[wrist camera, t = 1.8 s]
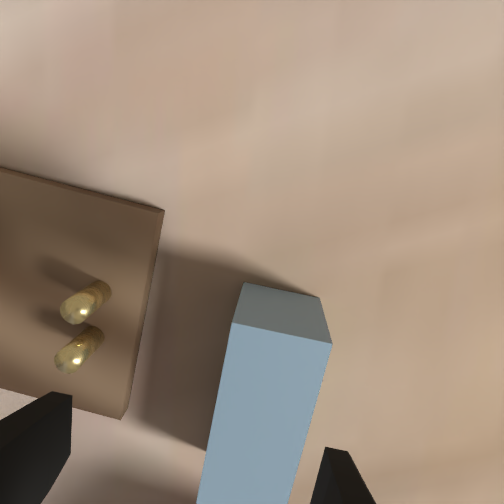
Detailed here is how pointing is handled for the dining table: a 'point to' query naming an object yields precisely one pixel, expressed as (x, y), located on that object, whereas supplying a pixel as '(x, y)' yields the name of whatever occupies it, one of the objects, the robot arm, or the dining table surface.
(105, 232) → the peg stand
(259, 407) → the light blue rectangular block
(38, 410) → the robot arm
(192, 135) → the dining table surface
